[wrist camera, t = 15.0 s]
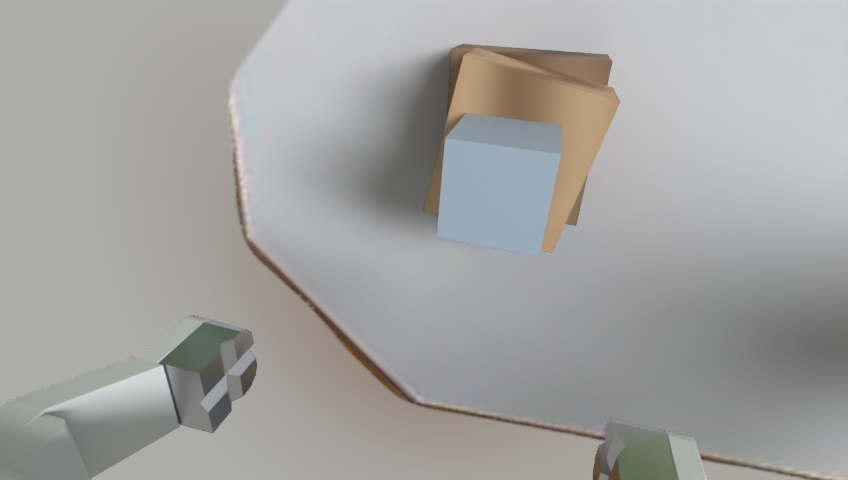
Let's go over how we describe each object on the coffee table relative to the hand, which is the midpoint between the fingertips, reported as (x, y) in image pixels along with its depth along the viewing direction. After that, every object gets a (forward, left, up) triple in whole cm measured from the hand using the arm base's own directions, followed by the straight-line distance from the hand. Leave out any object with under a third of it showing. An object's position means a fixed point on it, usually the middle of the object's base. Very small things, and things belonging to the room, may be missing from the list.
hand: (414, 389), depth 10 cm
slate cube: (0, 0, -18) cm, 18 cm away
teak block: (0, 0, -22) cm, 22 cm away
